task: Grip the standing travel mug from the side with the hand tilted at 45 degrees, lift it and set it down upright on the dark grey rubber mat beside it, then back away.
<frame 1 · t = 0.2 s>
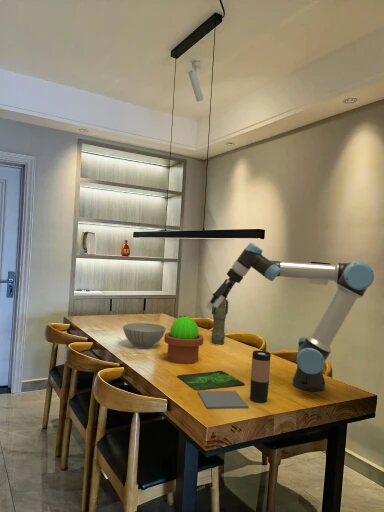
hand: (211, 307, 186), 35 cm above the table, tool tilted 35°, fingers open, 13 cm apart
rubber mat: (222, 400, 160), on the table
mouse mat: (209, 381, 184), on the table
olive grey tall piece: (217, 343, 266), on the table
potted cactus: (182, 359, 218), on the table
decorative bowl: (143, 346, 244), on the table
travel mug: (258, 400, 163), on the table
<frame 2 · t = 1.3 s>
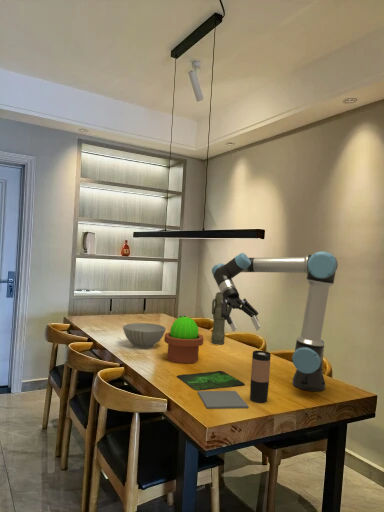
hand: (247, 329, 172), 28 cm above the table, tool tilted 45°, fingers open, 13 cm apart
nothing on the table moved.
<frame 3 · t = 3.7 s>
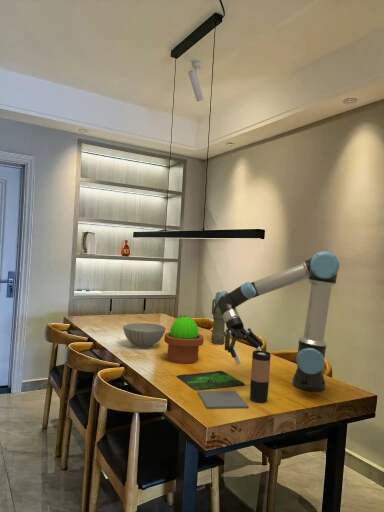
hand: (251, 362, 166), 15 cm above the table, tool tilted 45°, fingers open, 13 cm apart
nothing on the table moved.
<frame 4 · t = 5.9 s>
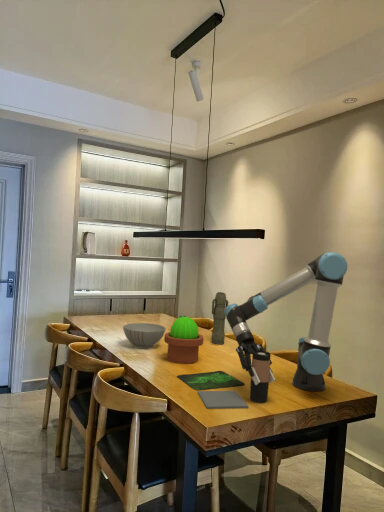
hand: (265, 382, 160), 9 cm above the table, tool tilted 45°, fingers closed on travel mug, 7 cm apart
travel mug: (258, 400, 163), on the table, touching gripper
everything else where it was.
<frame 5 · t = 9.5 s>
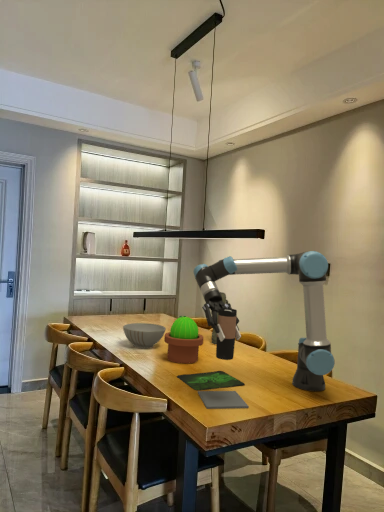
hand: (231, 338, 157), 26 cm above the table, tool tilted 45°, fingers closed on travel mug, 7 cm apart
travel mug: (224, 358, 160), point 17 cm above the table, touching gripper
everything else where it was.
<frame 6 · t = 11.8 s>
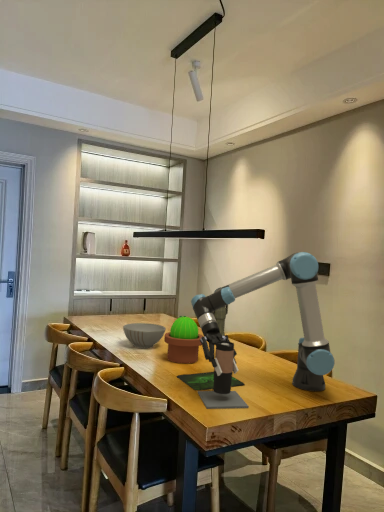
hand: (228, 373, 157), 12 cm above the table, tool tilted 45°, fingers closed on travel mug, 7 cm apart
travel mug: (221, 391, 160), point 4 cm above the table, touching gripper
everything else where it was.
when the fingers open (11 cm above the table, at t = 13.0 s): travel mug drops 2 cm, resting on rubber mat.
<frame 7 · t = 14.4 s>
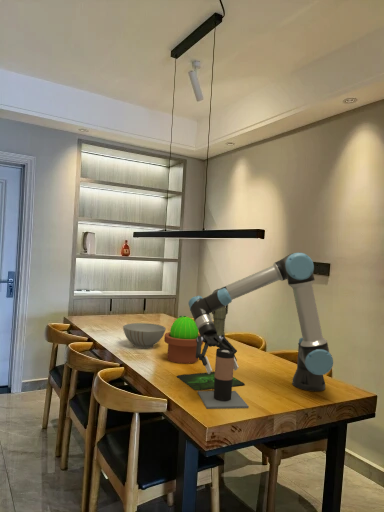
hand: (223, 370, 159), 12 cm above the table, tool tilted 45°, fingers open, 13 cm apart
travel mug: (222, 398, 160), point 1 cm above the table, touching rubber mat
everything else where it was.
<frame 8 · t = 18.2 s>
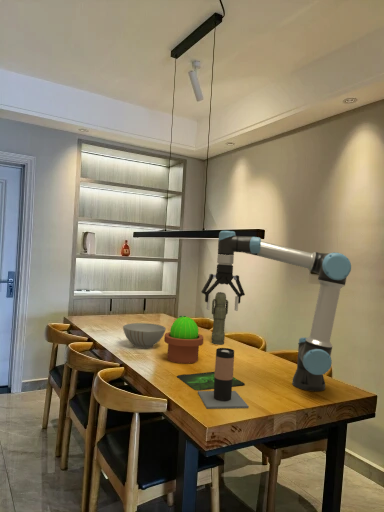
hand: (222, 310, 179), 35 cm above the table, tool pointing down, fingers open, 13 cm apart
nothing on the table moved.
at the end: travel mug inside the target area on the rubber mat (0.1 cm from its centre), point 0.6 cm above the rubber mat's base; travel mug tilted 0°; the gripper is holding nothing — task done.
